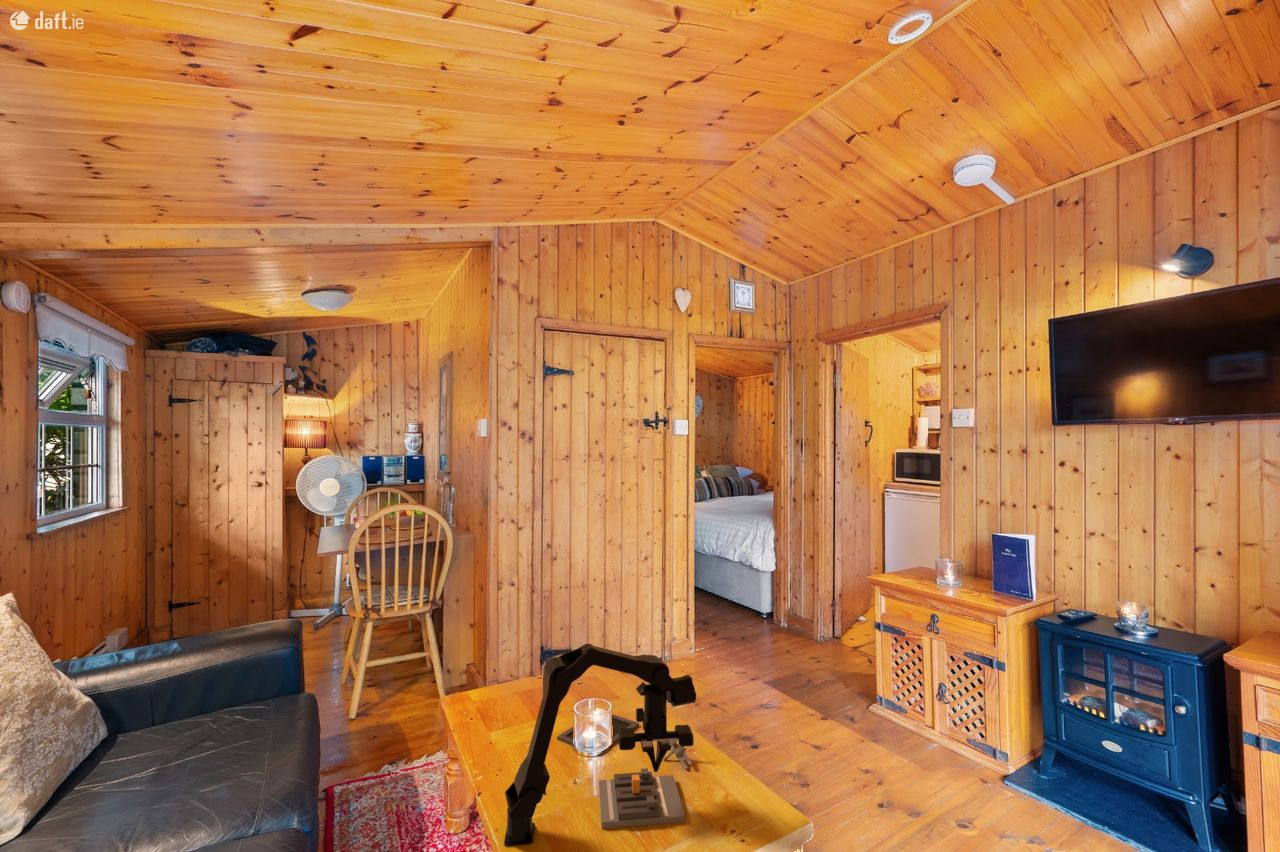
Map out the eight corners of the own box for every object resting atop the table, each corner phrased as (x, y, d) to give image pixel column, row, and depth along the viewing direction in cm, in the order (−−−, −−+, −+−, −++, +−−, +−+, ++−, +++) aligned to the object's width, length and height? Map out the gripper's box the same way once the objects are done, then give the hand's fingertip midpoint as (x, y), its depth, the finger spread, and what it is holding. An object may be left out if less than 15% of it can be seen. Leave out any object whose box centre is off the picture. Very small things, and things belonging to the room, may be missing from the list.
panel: (685, 822, 138) (684, 803, 138) (601, 828, 136) (601, 809, 136) (673, 780, 155) (673, 763, 155) (599, 786, 153) (598, 768, 153)
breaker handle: (639, 792, 144) (639, 779, 145) (632, 793, 144) (632, 780, 144) (638, 787, 147) (638, 774, 147) (631, 787, 147) (631, 774, 147)
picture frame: (597, 757, 168) (639, 728, 185) (597, 750, 168) (639, 721, 185) (557, 741, 177) (600, 714, 194) (557, 735, 177) (600, 708, 194)
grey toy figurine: (670, 775, 158) (655, 749, 165) (680, 783, 161) (664, 757, 169) (697, 749, 160) (681, 724, 167) (706, 757, 163) (689, 733, 170)
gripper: (685, 693, 156) (686, 751, 155) (616, 696, 154) (616, 756, 153) (693, 712, 145) (694, 775, 144) (619, 716, 143) (619, 780, 142)
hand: (655, 771), depth 146 cm, fingers closed
